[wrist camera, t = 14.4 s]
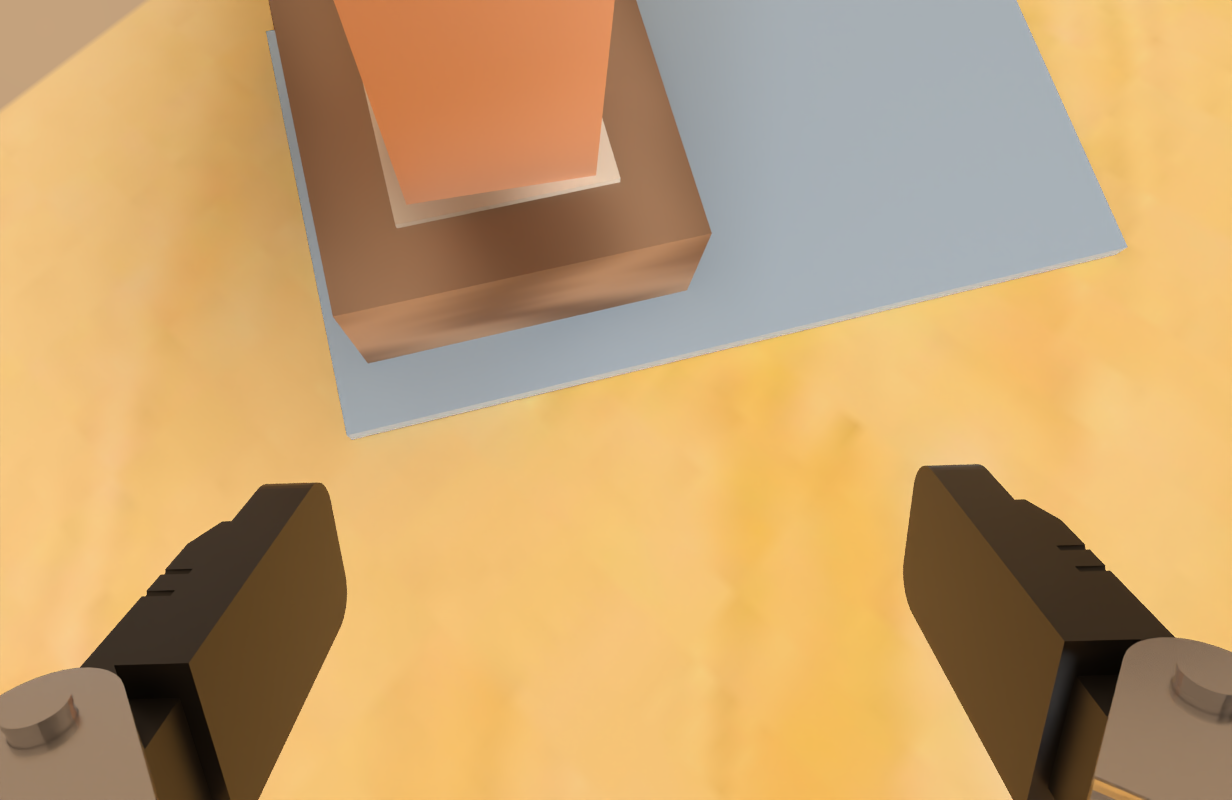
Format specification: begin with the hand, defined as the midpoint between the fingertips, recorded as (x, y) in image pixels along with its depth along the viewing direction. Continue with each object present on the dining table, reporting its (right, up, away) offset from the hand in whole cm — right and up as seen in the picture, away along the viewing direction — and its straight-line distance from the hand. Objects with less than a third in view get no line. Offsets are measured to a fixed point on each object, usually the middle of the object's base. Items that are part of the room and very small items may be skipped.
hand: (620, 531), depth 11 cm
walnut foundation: (-4, +9, +15) cm, 17 cm away
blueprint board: (+3, +10, +16) cm, 19 cm away
